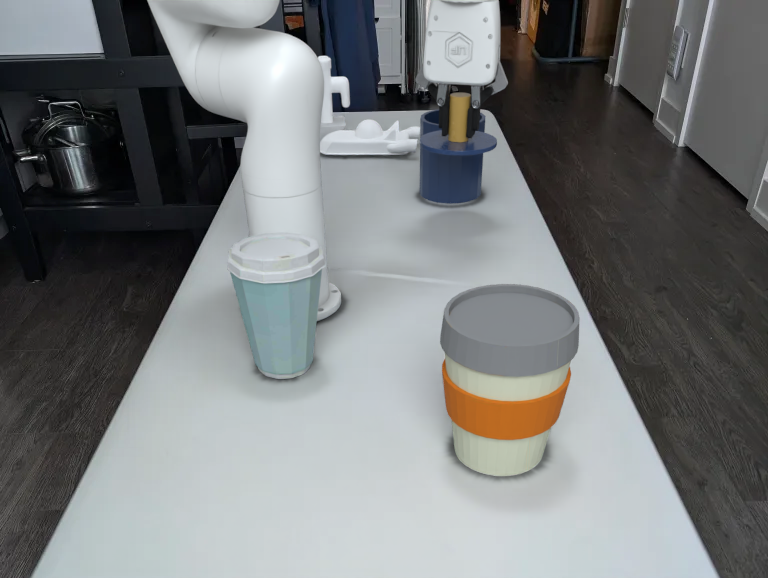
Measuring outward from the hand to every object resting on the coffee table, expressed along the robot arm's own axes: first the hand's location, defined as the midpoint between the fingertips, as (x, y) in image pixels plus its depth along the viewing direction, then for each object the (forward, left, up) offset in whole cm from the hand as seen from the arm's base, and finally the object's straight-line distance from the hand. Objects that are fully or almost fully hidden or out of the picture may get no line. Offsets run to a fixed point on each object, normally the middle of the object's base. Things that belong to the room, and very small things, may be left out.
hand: (458, 133), depth 117 cm
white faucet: (+38, +35, -14) cm, 54 cm away
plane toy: (+33, +25, -14) cm, 44 cm away
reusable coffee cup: (-57, -17, -14) cm, 61 cm away
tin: (+13, +4, -14) cm, 20 cm away
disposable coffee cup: (-47, +10, -14) cm, 50 cm away
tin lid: (0, 0, -1) cm, 1 cm away
